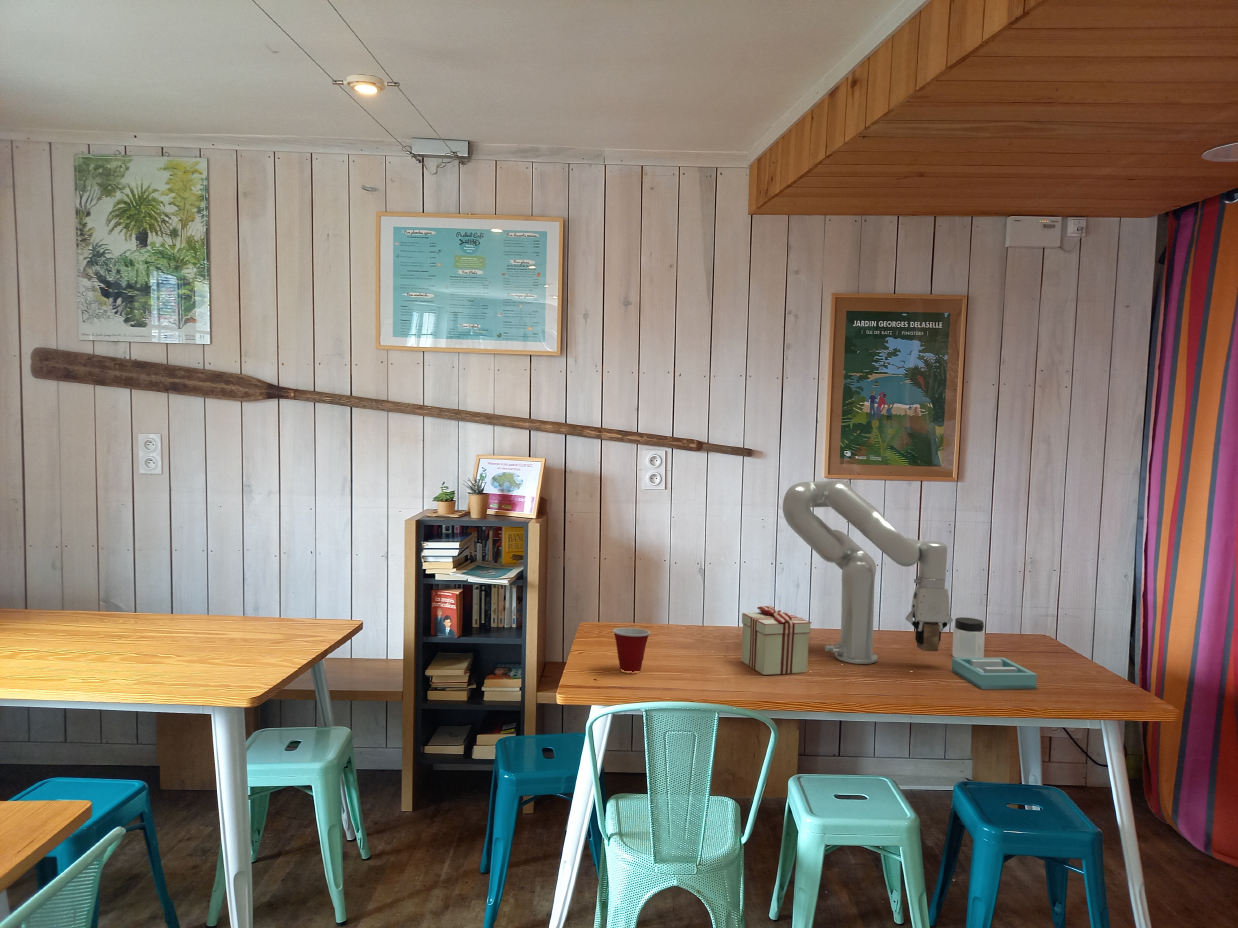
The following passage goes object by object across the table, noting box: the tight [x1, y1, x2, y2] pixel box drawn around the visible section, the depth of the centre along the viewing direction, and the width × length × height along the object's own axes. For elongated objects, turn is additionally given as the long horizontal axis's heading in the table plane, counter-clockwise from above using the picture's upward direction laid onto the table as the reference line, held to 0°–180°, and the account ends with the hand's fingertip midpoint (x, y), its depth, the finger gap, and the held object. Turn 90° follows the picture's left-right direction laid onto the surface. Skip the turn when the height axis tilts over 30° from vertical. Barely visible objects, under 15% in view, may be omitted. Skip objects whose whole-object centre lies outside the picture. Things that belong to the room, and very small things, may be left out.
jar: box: [951, 616, 986, 658], centre depth 245 cm, size 9×8×12 cm
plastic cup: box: [612, 627, 651, 672], centre depth 226 cm, size 11×11×12 cm
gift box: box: [740, 605, 812, 676], centre depth 233 cm, size 17×18×17 cm
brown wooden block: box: [916, 622, 940, 652], centre depth 235 cm, size 4×4×8 cm
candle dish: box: [951, 657, 1038, 690], centre depth 224 cm, size 16×16×4 cm
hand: (927, 642), depth 235 cm, fingers closed on brown wooden block, 4 cm apart
